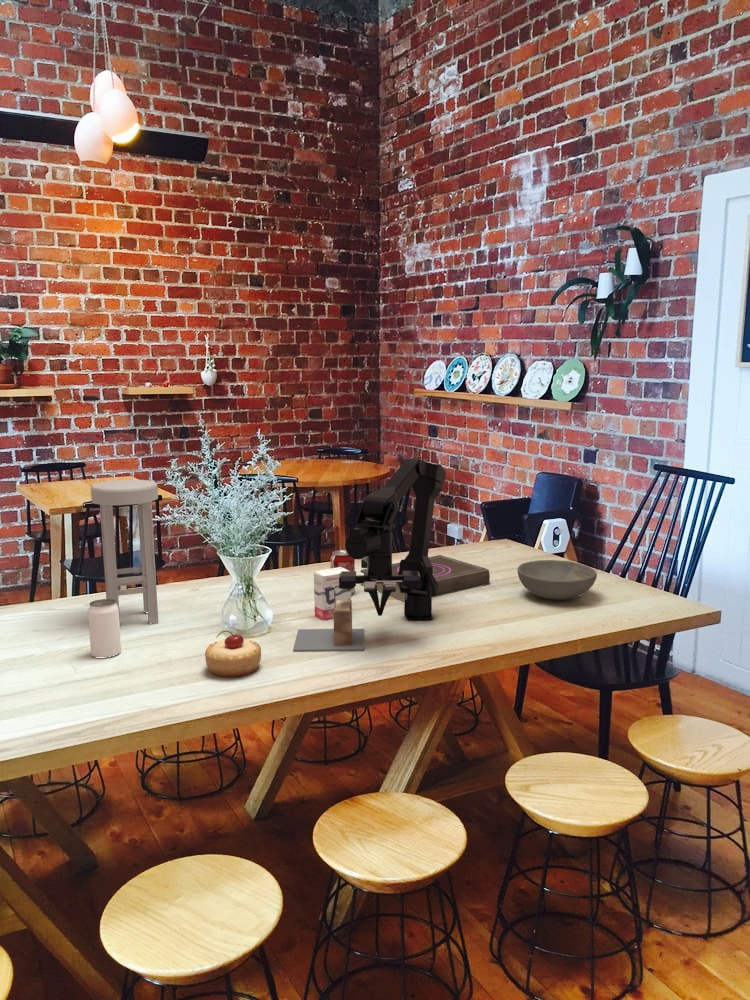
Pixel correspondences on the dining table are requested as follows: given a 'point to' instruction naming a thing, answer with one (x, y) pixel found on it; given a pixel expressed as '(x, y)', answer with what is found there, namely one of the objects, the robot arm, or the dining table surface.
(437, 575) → the book
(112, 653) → the can
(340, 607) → the slab
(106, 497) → the stool
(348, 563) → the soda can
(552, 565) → the bowl
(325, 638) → the mat
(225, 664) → the pastry
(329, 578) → the ink box
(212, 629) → the dining table surface
